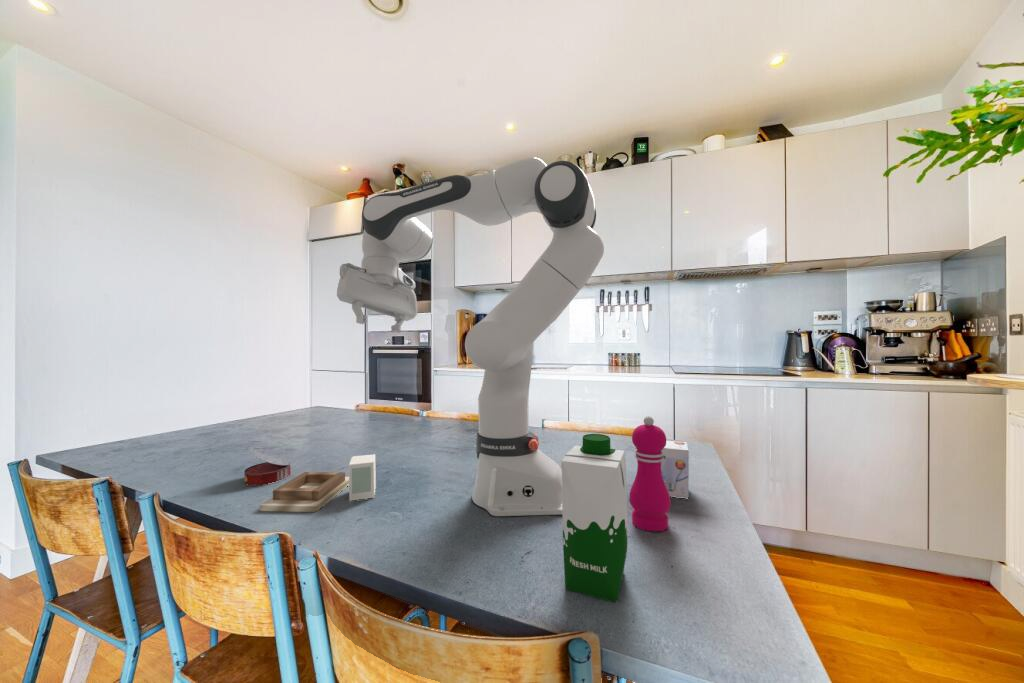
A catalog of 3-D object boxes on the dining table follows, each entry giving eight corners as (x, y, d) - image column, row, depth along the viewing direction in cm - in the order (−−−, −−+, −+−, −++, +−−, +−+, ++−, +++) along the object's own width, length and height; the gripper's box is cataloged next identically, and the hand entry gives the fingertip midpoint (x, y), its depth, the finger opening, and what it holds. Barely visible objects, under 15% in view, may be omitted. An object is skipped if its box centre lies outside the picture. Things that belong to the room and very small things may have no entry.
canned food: (259, 492, 97) (267, 453, 102) (296, 488, 97) (303, 449, 101) (226, 487, 87) (237, 444, 92) (267, 483, 87) (276, 440, 91)
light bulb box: (637, 493, 82) (636, 445, 82) (638, 482, 89) (638, 437, 89) (690, 500, 78) (689, 449, 78) (688, 488, 85) (687, 441, 85)
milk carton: (630, 569, 55) (629, 436, 55) (622, 610, 47) (621, 453, 47) (573, 556, 59) (571, 430, 59) (556, 592, 50) (554, 446, 50)
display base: (354, 481, 91) (354, 468, 91) (316, 511, 75) (316, 496, 75) (307, 481, 92) (307, 468, 92) (259, 511, 76) (259, 495, 76)
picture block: (375, 487, 87) (375, 454, 87) (373, 498, 81) (373, 462, 81) (353, 490, 86) (352, 456, 86) (349, 501, 80) (348, 464, 80)
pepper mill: (651, 537, 64) (650, 422, 64) (621, 520, 70) (620, 415, 70) (679, 527, 67) (678, 417, 67) (648, 511, 74) (647, 411, 73)
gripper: (348, 254, 82) (345, 312, 77) (420, 284, 98) (421, 333, 93) (332, 265, 85) (329, 320, 80) (404, 292, 101) (405, 340, 97)
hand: (379, 328), depth 87 cm, fingers open, 8 cm apart
